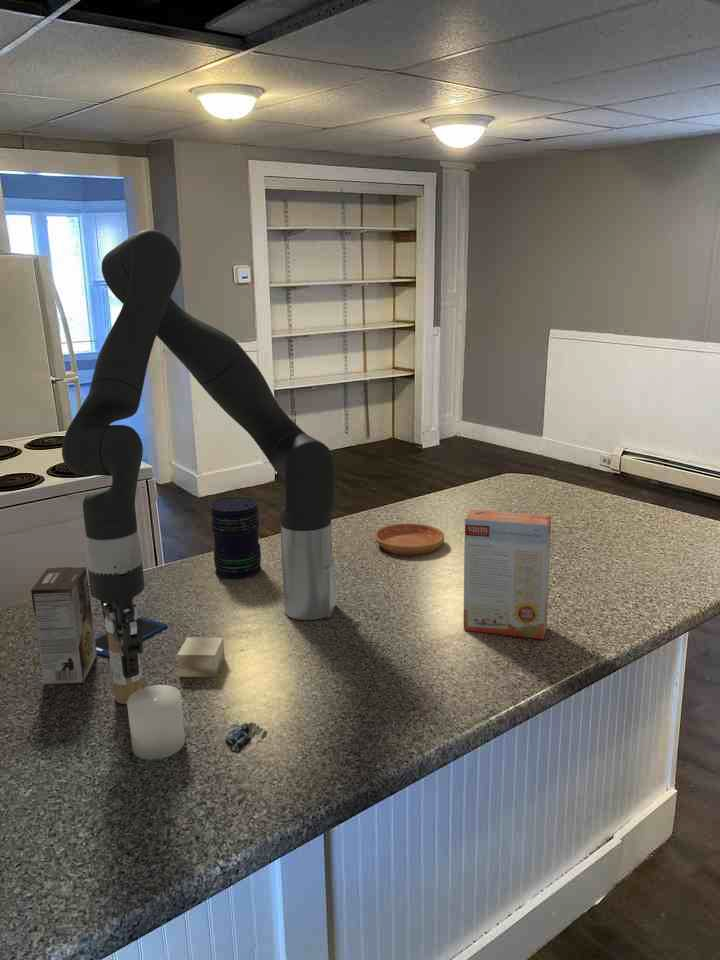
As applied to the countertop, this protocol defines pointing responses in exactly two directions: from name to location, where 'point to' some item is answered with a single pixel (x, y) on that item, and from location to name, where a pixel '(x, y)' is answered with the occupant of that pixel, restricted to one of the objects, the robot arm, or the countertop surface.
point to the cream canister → (156, 722)
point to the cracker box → (506, 573)
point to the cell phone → (148, 630)
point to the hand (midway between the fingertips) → (126, 668)
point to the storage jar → (236, 538)
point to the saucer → (409, 538)
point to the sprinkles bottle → (121, 684)
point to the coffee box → (64, 625)
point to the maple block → (200, 657)
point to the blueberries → (242, 735)
